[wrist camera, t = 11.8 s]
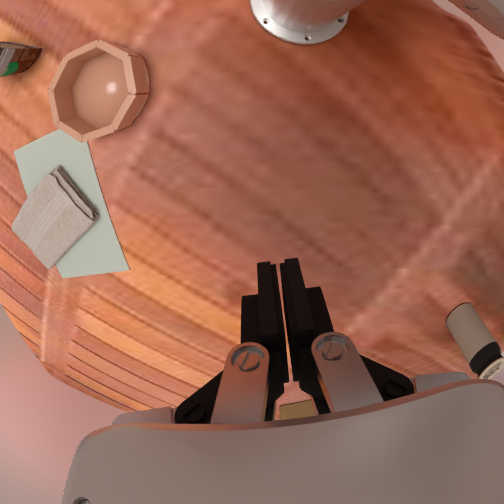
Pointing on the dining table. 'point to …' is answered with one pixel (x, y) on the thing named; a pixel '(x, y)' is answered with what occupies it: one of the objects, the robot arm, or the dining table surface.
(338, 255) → the dining table surface
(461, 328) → the travel mug
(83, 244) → the mat
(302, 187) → the dining table surface
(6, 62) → the food container
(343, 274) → the dining table surface
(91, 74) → the bowl
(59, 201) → the washcloth
